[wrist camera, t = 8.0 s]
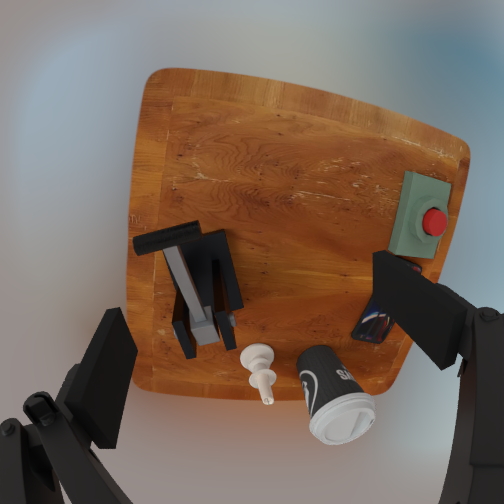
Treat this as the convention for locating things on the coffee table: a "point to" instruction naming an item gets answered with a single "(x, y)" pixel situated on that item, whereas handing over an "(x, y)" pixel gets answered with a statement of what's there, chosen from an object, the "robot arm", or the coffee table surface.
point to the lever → (182, 274)
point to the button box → (418, 215)
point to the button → (434, 222)
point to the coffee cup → (333, 397)
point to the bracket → (208, 289)
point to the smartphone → (377, 318)
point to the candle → (260, 369)
